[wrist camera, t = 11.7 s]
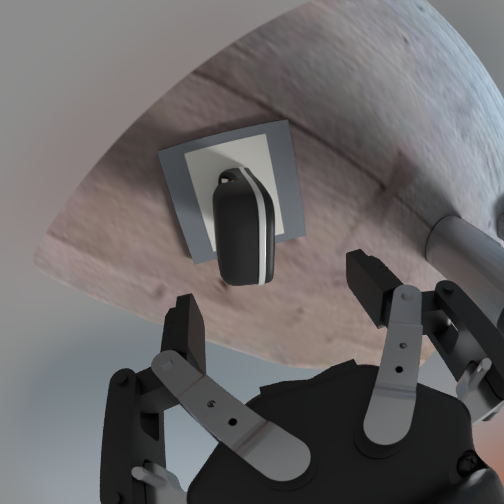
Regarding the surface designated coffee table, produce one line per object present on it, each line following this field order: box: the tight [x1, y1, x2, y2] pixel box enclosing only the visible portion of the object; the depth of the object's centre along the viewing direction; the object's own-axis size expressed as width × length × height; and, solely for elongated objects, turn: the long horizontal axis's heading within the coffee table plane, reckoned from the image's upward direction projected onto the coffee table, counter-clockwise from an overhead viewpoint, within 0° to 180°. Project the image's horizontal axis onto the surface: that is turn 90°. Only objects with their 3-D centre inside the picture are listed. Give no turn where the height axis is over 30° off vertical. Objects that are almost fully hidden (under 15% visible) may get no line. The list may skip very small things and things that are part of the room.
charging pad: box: [157, 119, 306, 264], centre depth 28 cm, size 13×13×1 cm
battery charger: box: [212, 167, 275, 286], centre depth 22 cm, size 7×4×11 cm, turn 179°
